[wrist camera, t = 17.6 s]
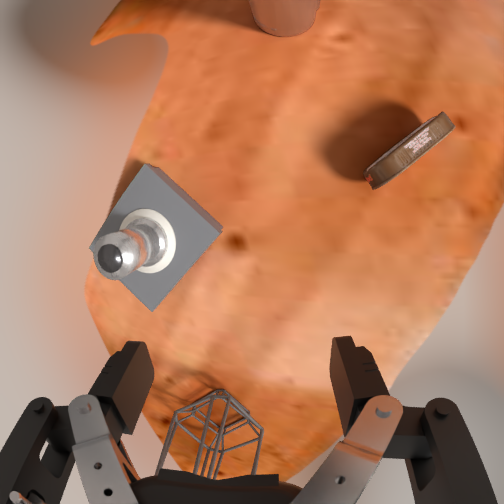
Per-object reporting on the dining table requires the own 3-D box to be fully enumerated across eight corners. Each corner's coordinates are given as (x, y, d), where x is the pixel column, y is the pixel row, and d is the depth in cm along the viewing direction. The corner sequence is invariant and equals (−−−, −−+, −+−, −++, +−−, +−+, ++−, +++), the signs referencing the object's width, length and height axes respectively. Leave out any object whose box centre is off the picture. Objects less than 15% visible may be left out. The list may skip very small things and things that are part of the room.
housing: (142, 207, 39) (103, 216, 30) (177, 240, 39) (144, 258, 30) (118, 242, 41) (78, 259, 31) (150, 274, 41) (115, 298, 32)
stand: (157, 164, 42) (143, 163, 37) (226, 228, 43) (219, 233, 38) (103, 242, 46) (87, 248, 42) (163, 301, 47) (151, 312, 42)
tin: (367, 190, 39) (384, 193, 31) (353, 171, 39) (368, 170, 30) (439, 133, 35) (467, 125, 27) (427, 115, 35) (453, 103, 27)
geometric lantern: (226, 364, 48) (163, 560, 14) (281, 418, 50) (268, 592, 16) (166, 397, 52) (89, 546, 18) (219, 444, 54) (180, 587, 20)
